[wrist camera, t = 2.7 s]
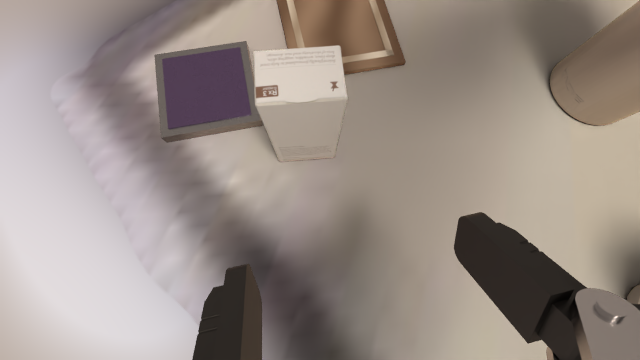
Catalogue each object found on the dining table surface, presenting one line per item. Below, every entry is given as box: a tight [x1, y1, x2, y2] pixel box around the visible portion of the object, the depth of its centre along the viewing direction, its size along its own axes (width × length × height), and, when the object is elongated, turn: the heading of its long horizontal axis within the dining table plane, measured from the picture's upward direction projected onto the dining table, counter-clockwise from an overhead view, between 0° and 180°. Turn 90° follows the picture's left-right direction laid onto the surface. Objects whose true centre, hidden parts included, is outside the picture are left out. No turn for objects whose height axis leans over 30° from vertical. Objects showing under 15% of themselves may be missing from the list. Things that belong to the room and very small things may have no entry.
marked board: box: [277, 0, 405, 75], centre depth 33 cm, size 13×13×1 cm
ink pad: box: [155, 41, 262, 142], centre depth 30 cm, size 10×10×1 cm
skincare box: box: [253, 45, 348, 162], centre depth 23 cm, size 6×4×12 cm
